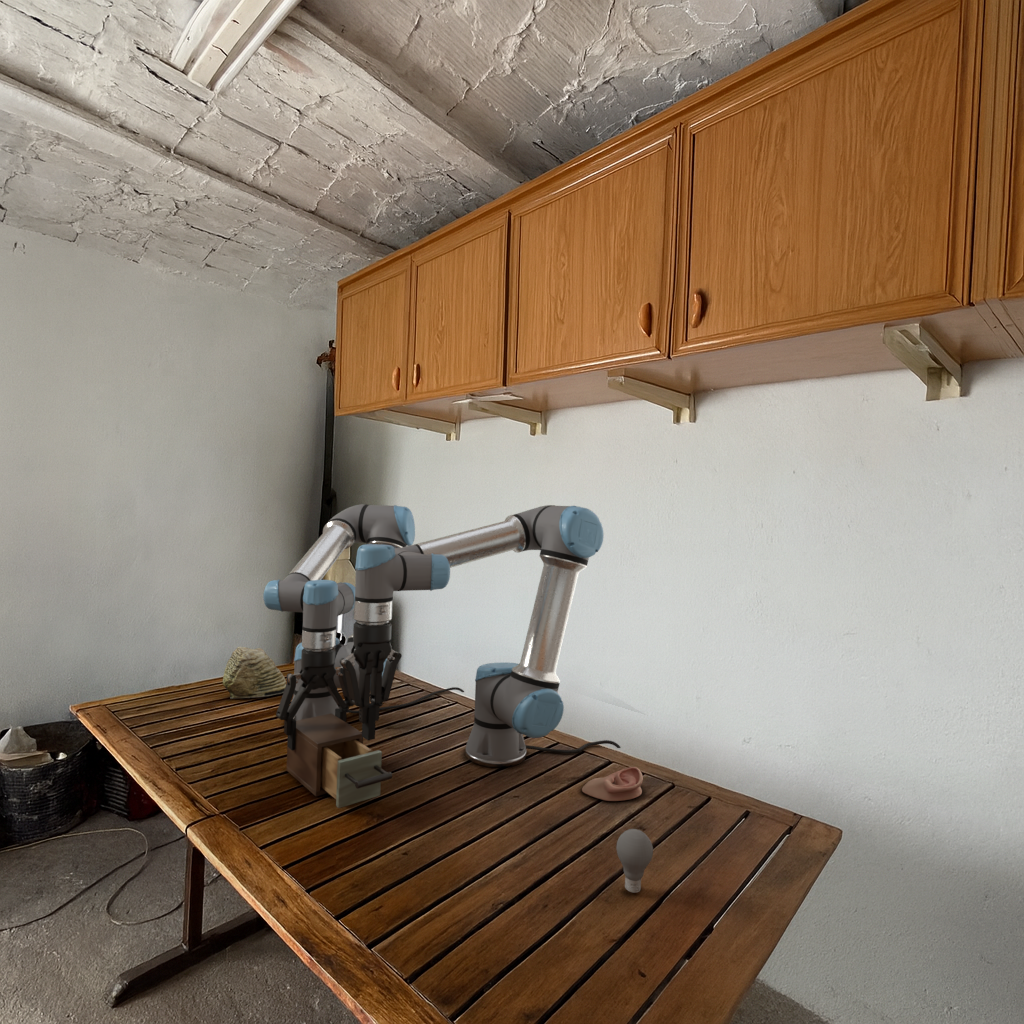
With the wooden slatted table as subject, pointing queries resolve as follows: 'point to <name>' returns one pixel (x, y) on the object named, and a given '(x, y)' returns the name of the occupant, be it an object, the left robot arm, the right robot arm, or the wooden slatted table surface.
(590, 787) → the anatomical model
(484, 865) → the wooden slatted table surface
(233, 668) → the fossil
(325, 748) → the drawer
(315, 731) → the cabinet
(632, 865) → the light bulb
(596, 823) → the wooden slatted table surface
